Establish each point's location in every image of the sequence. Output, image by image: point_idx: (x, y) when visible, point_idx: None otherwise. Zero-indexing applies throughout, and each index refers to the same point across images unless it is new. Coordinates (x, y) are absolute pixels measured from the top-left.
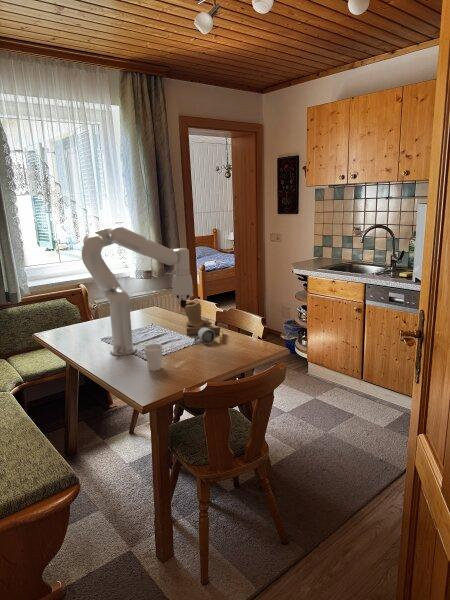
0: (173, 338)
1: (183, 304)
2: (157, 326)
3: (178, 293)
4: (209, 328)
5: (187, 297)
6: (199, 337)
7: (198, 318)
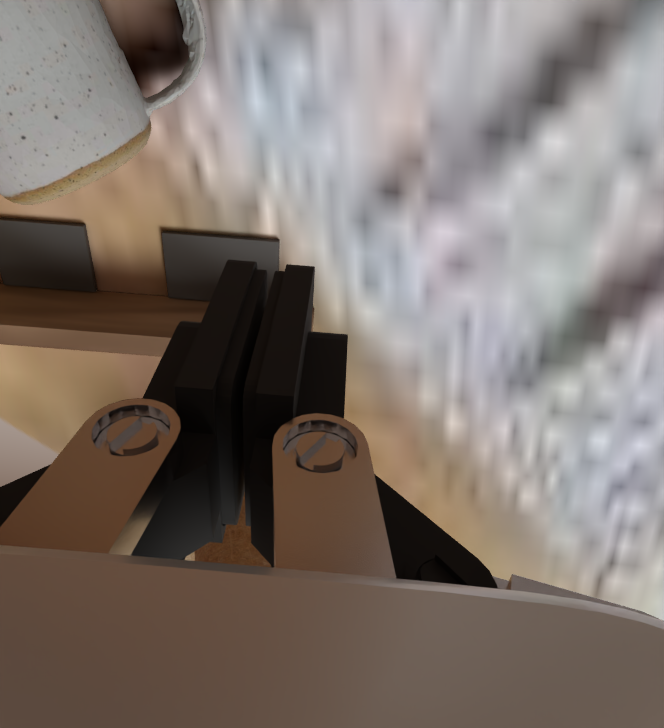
0: (451, 230)
1: (240, 317)
2: (569, 539)
3: (414, 675)
4: (57, 325)
5: (10, 508)
6: (116, 45)
7: (209, 546)
